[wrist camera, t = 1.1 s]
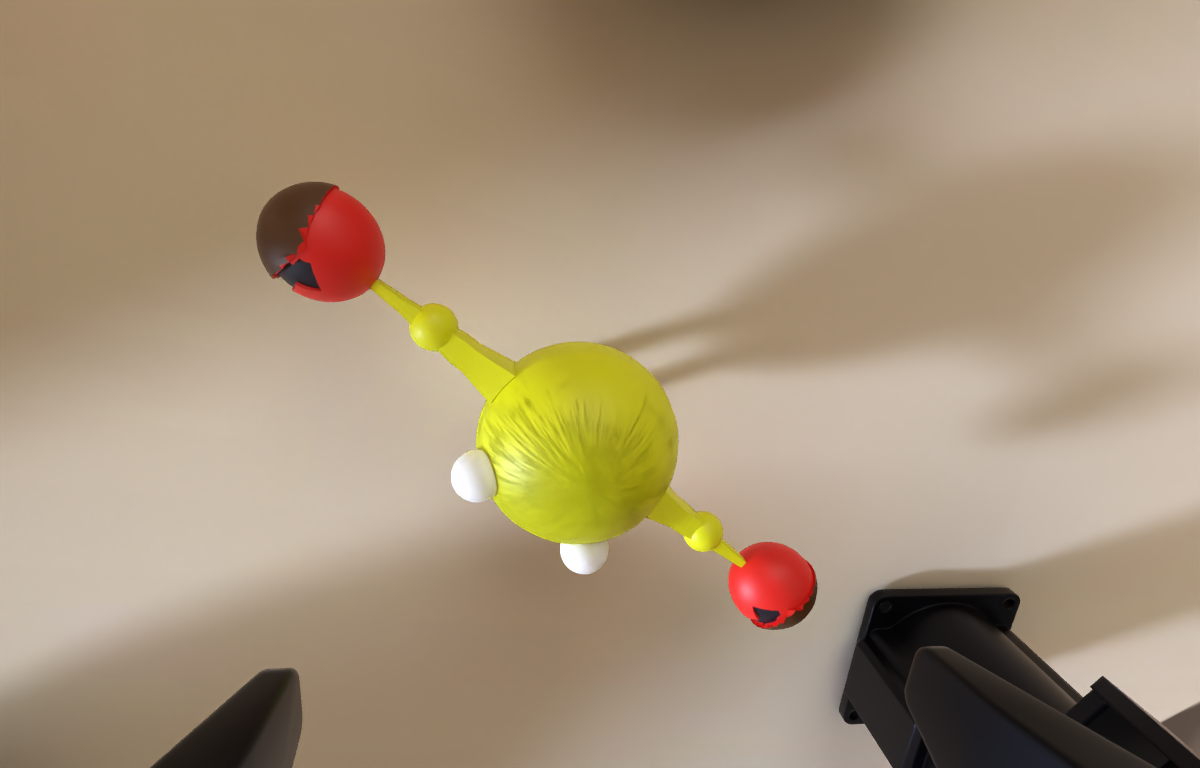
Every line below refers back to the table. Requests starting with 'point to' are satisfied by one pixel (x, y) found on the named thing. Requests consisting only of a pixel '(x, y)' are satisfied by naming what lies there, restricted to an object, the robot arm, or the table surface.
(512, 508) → the toy figure
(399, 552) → the table surface
